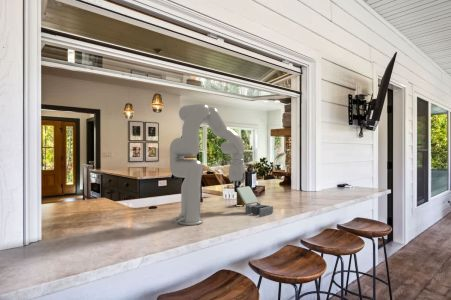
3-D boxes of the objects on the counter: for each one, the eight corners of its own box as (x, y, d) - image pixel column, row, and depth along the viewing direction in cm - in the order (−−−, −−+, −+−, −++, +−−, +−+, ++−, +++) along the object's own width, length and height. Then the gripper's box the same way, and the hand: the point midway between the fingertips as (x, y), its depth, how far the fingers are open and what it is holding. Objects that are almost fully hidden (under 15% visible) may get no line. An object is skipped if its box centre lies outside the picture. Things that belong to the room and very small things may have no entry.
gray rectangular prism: (256, 215, 166) (256, 207, 166) (252, 214, 168) (252, 206, 168) (266, 213, 171) (266, 205, 171) (261, 212, 174) (261, 204, 174)
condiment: (248, 205, 196) (248, 187, 196) (239, 207, 190) (239, 188, 190) (240, 204, 201) (240, 186, 201) (231, 205, 195) (231, 187, 196)
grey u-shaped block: (261, 216, 162) (261, 207, 162) (245, 213, 169) (245, 205, 169) (272, 213, 171) (273, 204, 171) (257, 210, 178) (257, 202, 178)
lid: (237, 187, 173) (236, 188, 174) (246, 204, 168) (245, 205, 169) (249, 186, 182) (248, 187, 183) (258, 202, 177) (257, 202, 178)
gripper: (224, 161, 183) (223, 191, 183) (243, 162, 173) (242, 193, 173) (231, 161, 189) (231, 190, 189) (250, 162, 179) (250, 192, 179)
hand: (236, 191), depth 181 cm, fingers closed
